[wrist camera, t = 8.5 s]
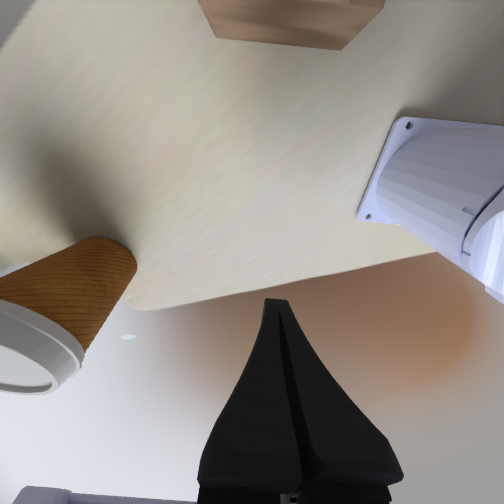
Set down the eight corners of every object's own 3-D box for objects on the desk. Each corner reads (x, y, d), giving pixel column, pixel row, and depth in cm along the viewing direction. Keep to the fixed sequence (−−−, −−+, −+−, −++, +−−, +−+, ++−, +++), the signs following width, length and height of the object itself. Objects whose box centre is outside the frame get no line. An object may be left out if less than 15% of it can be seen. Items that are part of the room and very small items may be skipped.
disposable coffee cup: (45, 233, 21) (-161, 332, 11) (118, 213, 19) (-44, 309, 9) (103, 294, 26) (0, 401, 15) (165, 282, 24) (95, 394, 14)
